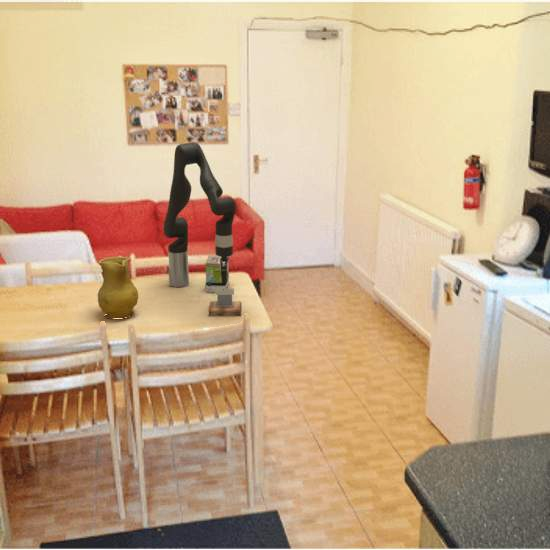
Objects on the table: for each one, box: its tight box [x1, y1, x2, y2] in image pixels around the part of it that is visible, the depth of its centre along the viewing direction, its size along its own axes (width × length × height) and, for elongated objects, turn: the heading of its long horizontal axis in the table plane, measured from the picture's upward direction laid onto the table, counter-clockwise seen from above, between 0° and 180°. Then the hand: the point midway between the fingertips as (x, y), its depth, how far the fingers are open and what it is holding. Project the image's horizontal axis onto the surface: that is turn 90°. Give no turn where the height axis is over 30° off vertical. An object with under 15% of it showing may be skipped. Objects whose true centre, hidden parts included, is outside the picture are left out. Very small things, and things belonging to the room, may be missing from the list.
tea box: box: [205, 254, 230, 293], centre depth 326 cm, size 15×10×15 cm, turn 179°
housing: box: [214, 288, 235, 308], centre depth 297 cm, size 5×8×7 cm, turn 91°
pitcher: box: [97, 256, 139, 319], centre depth 292 cm, size 17×19×25 cm
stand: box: [208, 300, 242, 317], centre depth 299 cm, size 14×12×2 cm
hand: (224, 279), depth 295 cm, fingers open, 8 cm apart
